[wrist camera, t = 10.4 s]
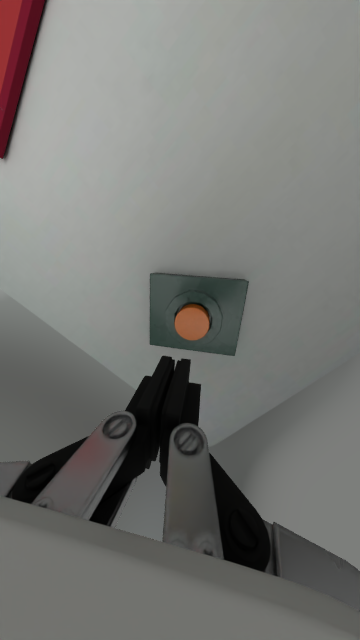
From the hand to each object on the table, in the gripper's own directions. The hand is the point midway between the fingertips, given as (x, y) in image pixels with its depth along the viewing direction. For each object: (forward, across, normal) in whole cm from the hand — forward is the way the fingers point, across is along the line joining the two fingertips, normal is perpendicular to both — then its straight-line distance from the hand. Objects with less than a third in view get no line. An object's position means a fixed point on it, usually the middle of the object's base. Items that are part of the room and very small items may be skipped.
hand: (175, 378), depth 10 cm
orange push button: (+11, 0, 0) cm, 11 cm away
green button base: (+15, 0, 0) cm, 15 cm away
